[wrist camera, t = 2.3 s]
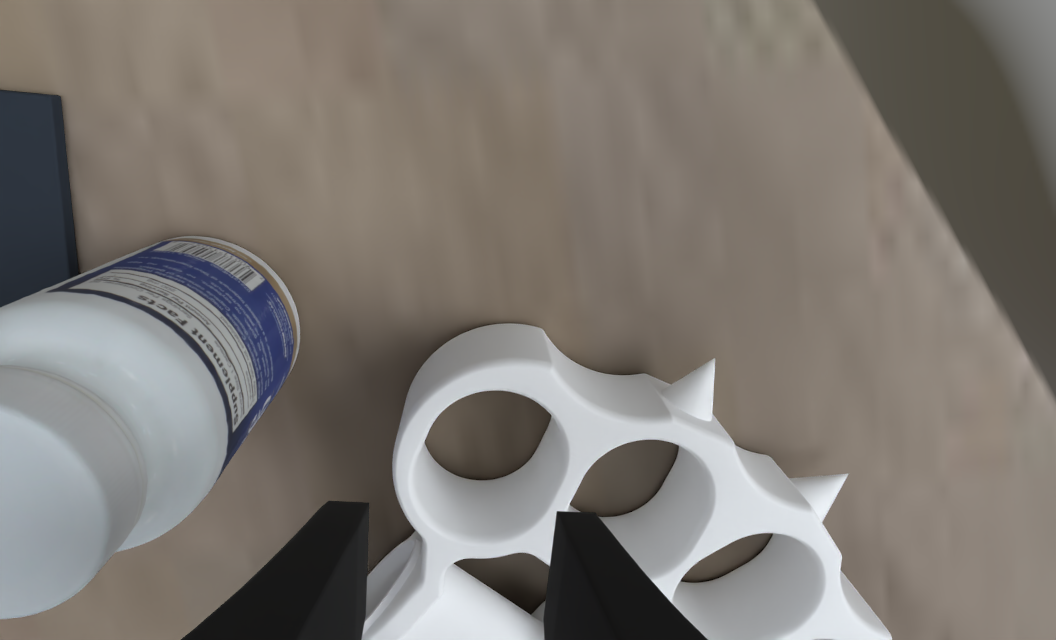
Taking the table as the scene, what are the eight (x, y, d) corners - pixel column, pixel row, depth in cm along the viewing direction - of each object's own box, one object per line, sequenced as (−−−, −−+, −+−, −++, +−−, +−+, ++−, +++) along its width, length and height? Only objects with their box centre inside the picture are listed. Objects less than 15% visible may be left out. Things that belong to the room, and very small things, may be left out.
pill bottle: (174, 433, 21) (-76, 701, 11) (75, 274, 19) (-310, 434, 10) (336, 370, 20) (218, 590, 11) (251, 203, 19) (28, 298, 9)
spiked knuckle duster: (256, 554, 22) (552, 212, 19) (647, 795, 26) (933, 543, 24) (218, 631, 19) (566, 232, 16) (671, 890, 23) (1003, 611, 21)
